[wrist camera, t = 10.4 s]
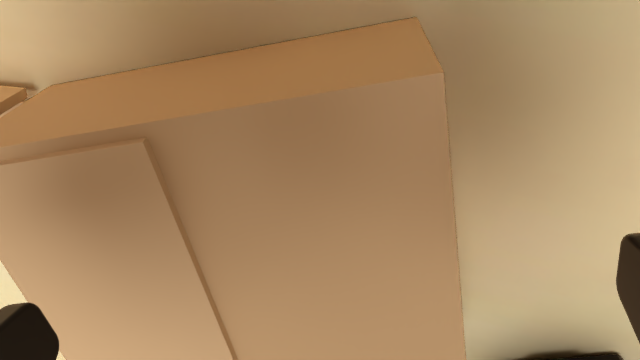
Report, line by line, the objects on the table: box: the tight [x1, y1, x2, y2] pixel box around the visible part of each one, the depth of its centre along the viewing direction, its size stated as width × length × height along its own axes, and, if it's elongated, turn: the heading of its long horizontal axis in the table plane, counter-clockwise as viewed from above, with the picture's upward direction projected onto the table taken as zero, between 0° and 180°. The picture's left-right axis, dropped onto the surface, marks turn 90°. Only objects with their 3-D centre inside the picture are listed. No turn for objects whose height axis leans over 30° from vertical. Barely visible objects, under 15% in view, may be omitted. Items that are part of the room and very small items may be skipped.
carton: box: [0, 17, 466, 360], centre depth 21 cm, size 20×19×6 cm
